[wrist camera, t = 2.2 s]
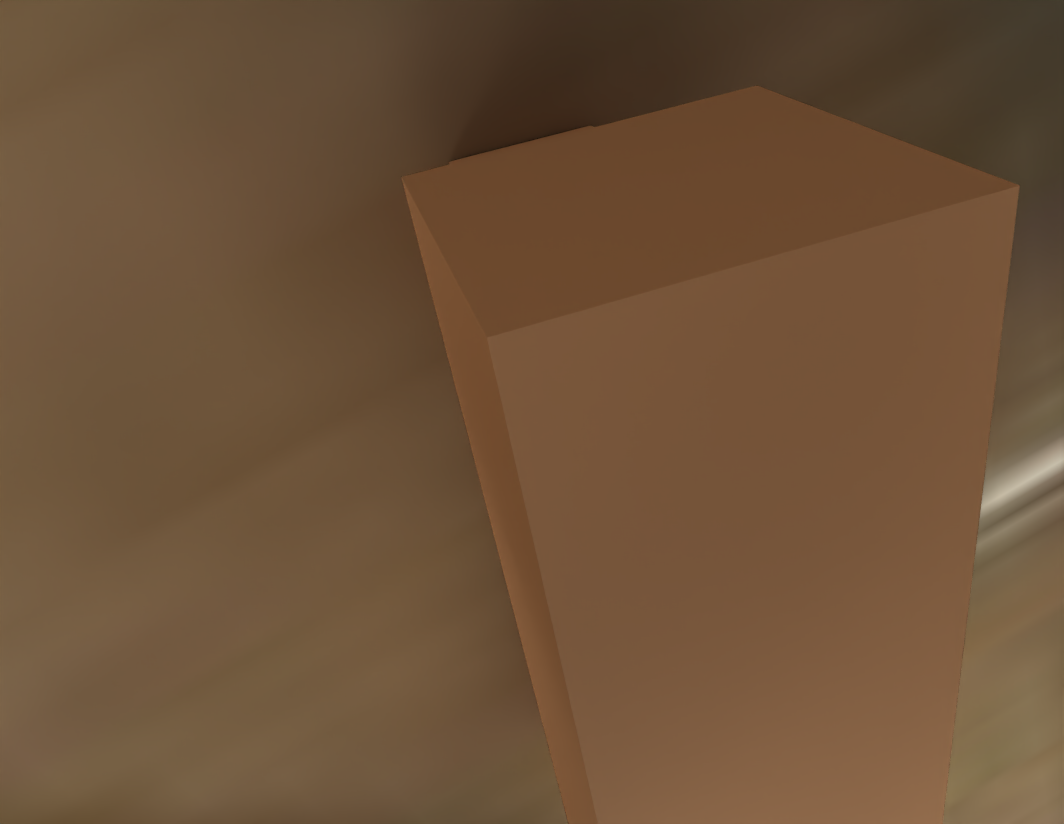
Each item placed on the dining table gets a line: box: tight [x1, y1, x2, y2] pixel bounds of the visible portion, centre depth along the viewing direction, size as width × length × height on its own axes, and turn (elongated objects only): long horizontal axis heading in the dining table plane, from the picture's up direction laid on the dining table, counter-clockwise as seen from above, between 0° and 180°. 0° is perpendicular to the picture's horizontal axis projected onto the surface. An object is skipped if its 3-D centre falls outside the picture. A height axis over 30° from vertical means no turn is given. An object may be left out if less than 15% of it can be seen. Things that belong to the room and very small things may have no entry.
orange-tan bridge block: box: [401, 86, 1020, 824], centre depth 10 cm, size 10×3×6 cm, turn 10°
